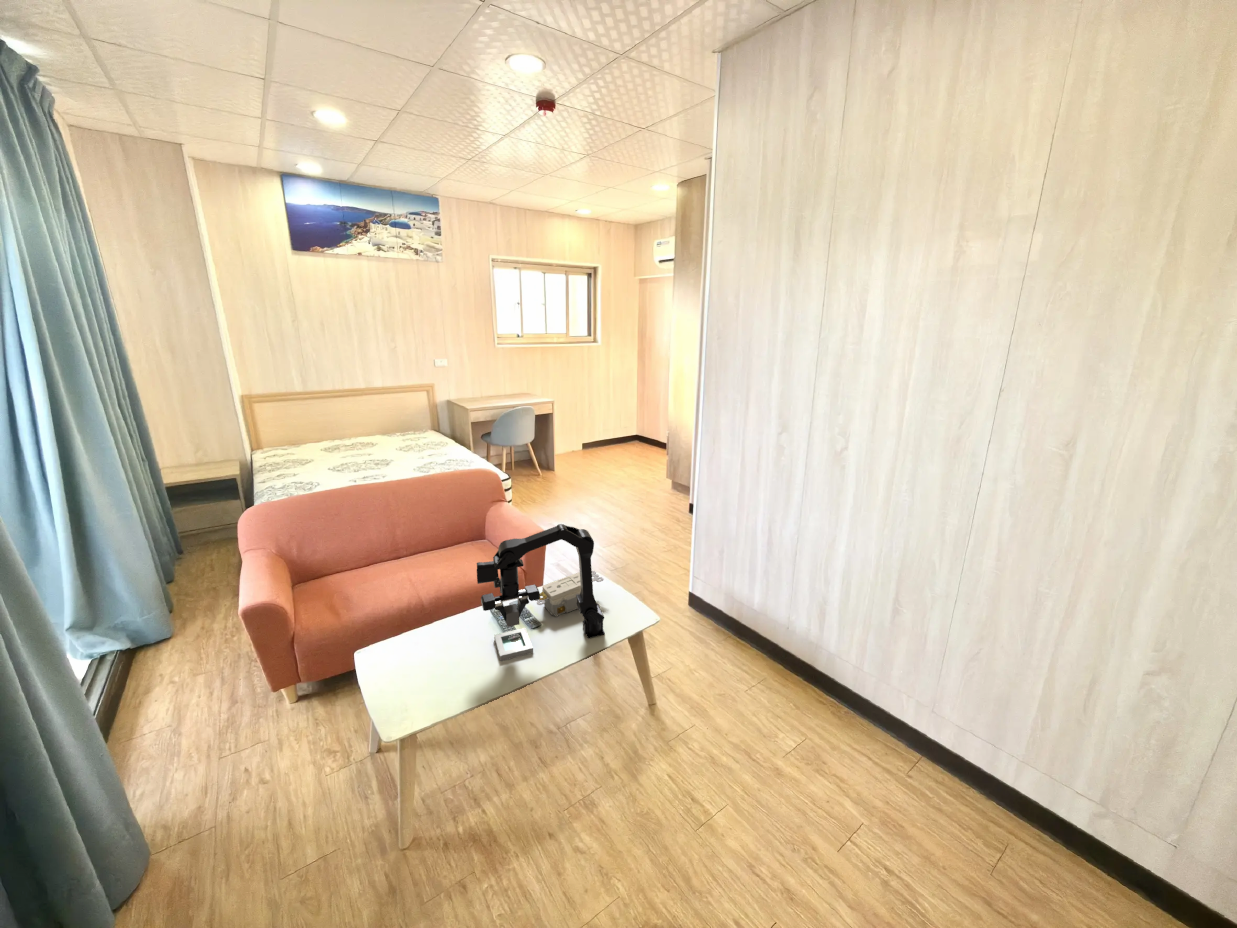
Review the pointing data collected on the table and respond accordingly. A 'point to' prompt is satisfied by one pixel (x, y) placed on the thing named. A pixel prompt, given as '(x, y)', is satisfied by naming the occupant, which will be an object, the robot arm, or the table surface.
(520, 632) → the socket
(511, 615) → the block
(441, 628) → the table surface
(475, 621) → the table surface
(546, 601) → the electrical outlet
